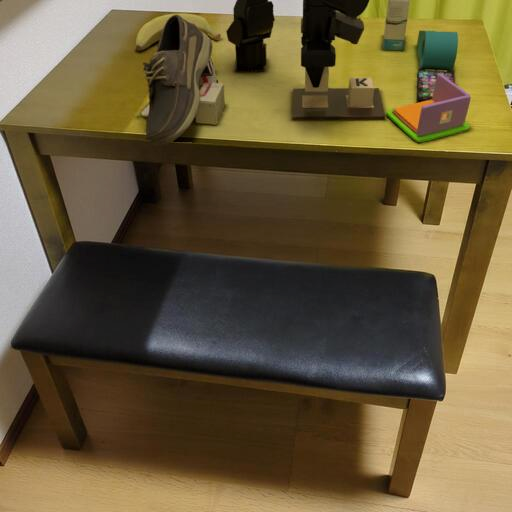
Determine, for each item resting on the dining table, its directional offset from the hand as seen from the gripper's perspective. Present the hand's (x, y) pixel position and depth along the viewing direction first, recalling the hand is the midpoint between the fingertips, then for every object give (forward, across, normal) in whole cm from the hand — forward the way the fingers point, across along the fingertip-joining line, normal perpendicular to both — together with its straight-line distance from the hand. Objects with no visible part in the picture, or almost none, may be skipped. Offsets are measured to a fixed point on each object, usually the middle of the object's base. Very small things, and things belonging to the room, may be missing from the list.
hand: (315, 81), depth 116 cm
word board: (+5, 0, -4) cm, 7 cm away
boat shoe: (+1, -5, +25) cm, 26 cm away
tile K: (+4, 0, -9) cm, 10 cm away
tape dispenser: (+5, +21, -28) cm, 35 cm away
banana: (+5, +33, +33) cm, 47 cm away
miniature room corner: (+5, -7, -22) cm, 23 cm away
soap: (+6, -1, +32) cm, 33 cm away
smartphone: (+5, +7, -26) cm, 27 cm away
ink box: (+5, +31, -20) cm, 37 cm away
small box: (+3, 0, +21) cm, 21 cm away
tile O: (+1, 0, 0) cm, 1 cm away
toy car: (+5, +11, +25) cm, 28 cm away
